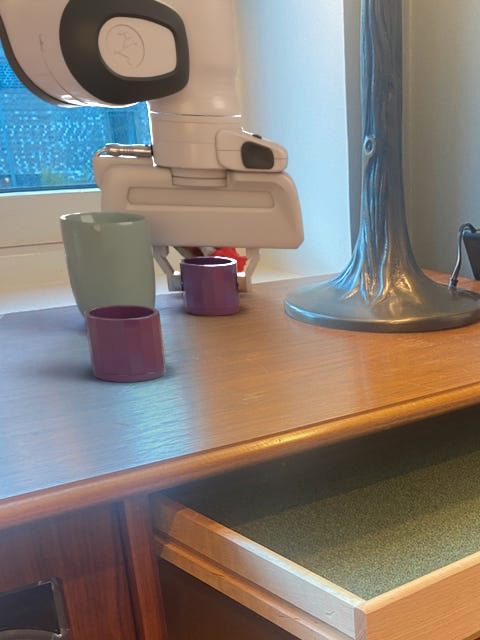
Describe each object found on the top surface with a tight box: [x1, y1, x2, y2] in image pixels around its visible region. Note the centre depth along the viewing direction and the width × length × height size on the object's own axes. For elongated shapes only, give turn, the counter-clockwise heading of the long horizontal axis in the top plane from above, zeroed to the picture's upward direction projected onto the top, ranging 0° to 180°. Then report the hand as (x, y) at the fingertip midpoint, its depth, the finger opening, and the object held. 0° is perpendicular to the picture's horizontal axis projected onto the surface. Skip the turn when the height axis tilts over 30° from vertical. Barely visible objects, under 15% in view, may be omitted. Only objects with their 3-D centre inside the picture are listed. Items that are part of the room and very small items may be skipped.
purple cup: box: [178, 257, 241, 317], centre depth 102 cm, size 6×6×5 cm
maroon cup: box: [83, 305, 167, 383], centre depth 80 cm, size 6×6×5 cm
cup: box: [59, 211, 157, 318], centre depth 93 cm, size 8×8×10 cm
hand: (211, 291), depth 103 cm, fingers closed on purple cup, 6 cm apart
